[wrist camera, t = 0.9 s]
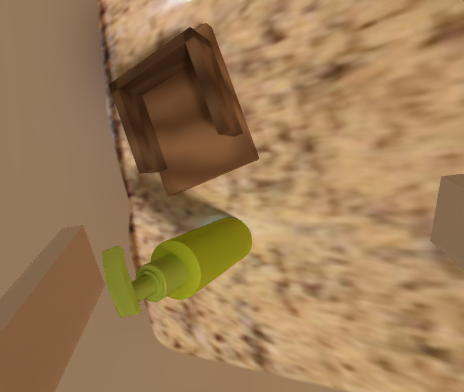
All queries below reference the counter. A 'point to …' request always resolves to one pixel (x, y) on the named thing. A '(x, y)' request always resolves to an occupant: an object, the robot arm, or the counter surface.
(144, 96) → the u rest
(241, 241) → the soap dispenser
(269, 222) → the counter surface
